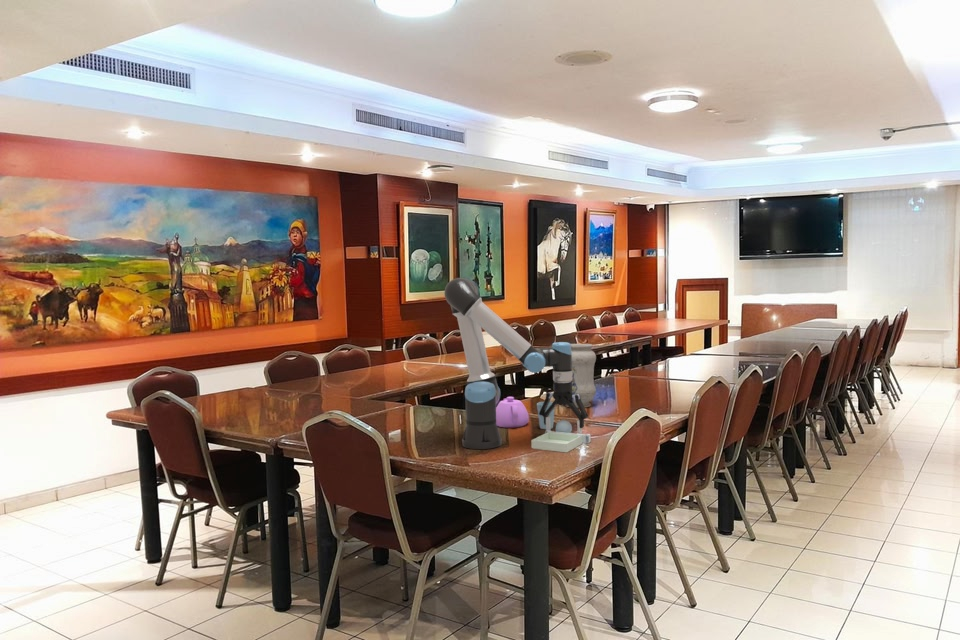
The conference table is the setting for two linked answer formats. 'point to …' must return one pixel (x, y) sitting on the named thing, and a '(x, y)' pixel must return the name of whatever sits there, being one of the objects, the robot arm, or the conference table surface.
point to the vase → (583, 373)
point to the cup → (541, 418)
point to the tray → (556, 442)
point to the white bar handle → (584, 437)
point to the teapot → (511, 413)
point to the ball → (563, 426)
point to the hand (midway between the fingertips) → (563, 434)
